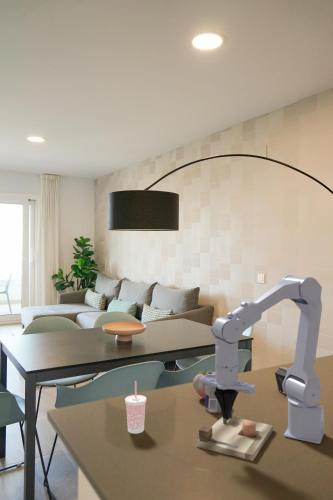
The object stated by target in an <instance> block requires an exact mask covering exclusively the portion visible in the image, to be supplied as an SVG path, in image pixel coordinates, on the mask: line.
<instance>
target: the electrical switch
mask: <svg viewBox="0 0 333 500" xmlns="http://www.w3.org/2000/svg"><path fill="white" fill-rule="evenodd" d="M288 369H289V368H287V367H284V366H278V369H277V370H276V371H275V372H274V375H275V381H276V385H277V389H278V392H280V391H281V392H284V391H283V388H282V384H283V381H284V379H285V377H286V374H287V370H288ZM281 392H280V393H281Z"/></svg>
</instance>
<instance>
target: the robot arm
mask: <svg viewBox="0 0 333 500" xmlns="http://www.w3.org/2000/svg"><path fill="white" fill-rule="evenodd" d="M322 291H323V287H322V285H321V283H319V281H318V280H317V279H316V278H315V277H312V276H311V277H310V276H308V277H306V276H297V275H296V276H295V275H291V274H290V275H286V276H284V277H283V278H281V279H279V280H278V281H277V283H276V284H275V285H274V286H272V287H271V289H269V290H267V291H266V292H265V293H264V294H262V295H261V296H260V297H258V299H256V300H255V301H254V302H252V301H243V302H241V303H240V306H239V307H236V309H234V310H233V311H231V312H230V311H229V312H228V313H226V316H224V317H223V316H221V317H218V318H216V319H215V320H214V323H213V324H212V327H211V328H210V332H211V335H212V336H213V338H214V342H215V343H214V344H215V345H214V346H215V347H214V349H215V354H214V355H215V371H216V378H209V377H202V378H200V379H199V382H200V386H208V387H214V388H216V391H215V392H214V395H215V397H216V398H217V400H218V402H219V405H220V408H221V415H222V416H223V419H229V418H230V417H231V411H232V409H233V406H234V404H235V401H236V399H237V397H238V394H239V393H244V394H249V395H250V396H254V395H256V385H255V384H250V383H247V382H244V381H240V380H239V342H240V340H241V339H242V336H243V333H244V332H246V330H248V329H249V328H251V327H252V326H253V325H255V324H256V323H258V322H259V321H260V320H261V319H262V315H263V313H264V312H265V311H267V310H269V309H271V308H272V307H274V306H276V305H277V304H279V303H280V302H282V301H284V300H287V299H288V300H290V301H292V302H294V304H295V305H296V306H297V308H298V309H299V310H300V314H299V320H298V321H299V322H298V330H297V338H296V344H295V350H294V351H295V352H294V358H293V359H294V360H293V365H291V367H289V368H287V369H288V370H287V374H286V377H285V379H284V381H283V384H282V388H283V391H284V393H285V394H284V395H286V400H287V429H286V430H285V432H284V434H283V437H285V438H290V439H293V440H294V439H295V440H300V441H304V442H308V443H313V444H317V445H320V444H321V442H322V440H323V437H324V434H325V408H324V406H323V405H319V402H320V401H321V399H322V398H321V397H322V389H321V378H320V377H319V375H318V374H317V372H316V371H315V364H316V355H317V350H318V341H319V334H320V333H319V332H320V326H321V320H322V312H323V311H322V309H323V303H322V298H321V297H322Z"/></svg>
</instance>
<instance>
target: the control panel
mask: <svg viewBox="0 0 333 500" xmlns="http://www.w3.org/2000/svg"><path fill="white" fill-rule="evenodd" d="M244 421H250V420H249V419H243V418H239V417H234V416H233V415H232V416H231V417H230V418H229V419H228V420H227V419H223V415H222V416H221V417H220V418H219V419H218V420H217V421H216V422H215V423H214V424H213V425H212V426H211V427H212V438H211V439H210V440H209V441H204V440H200V439H199V438H198V439H197V440H196V447H197V448H201V449H205V450H209V451H213V452H217V453H220V454H224V455H227V456H232V457H236V458H240V459H243V460H247V461H251V462H253V461H254V460H255V458H257V456H258V454H259V453H260V451H261V450H262V448H263V446H264V445H265V443H266V442H267V441H268V440H269V438H270V436H271V435H272V433H273V432H274V425H272V424H267V423H262V422H259V421H253V420H251V421H252V422H254V423H256V436H255V438H254V437H252V438H249V437H245V436H243V435H242V422H244Z"/></svg>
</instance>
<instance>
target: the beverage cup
mask: <svg viewBox="0 0 333 500" xmlns="http://www.w3.org/2000/svg"><path fill="white" fill-rule="evenodd" d="M137 390H138V389H137V380H135V381H134V394H131V395H128V396H126V397H125V398H124V402H125V406H126V407H125V408H126V422H127V432H128V433H129V434H140V433H143V432H144V431H145V420H146V419H145V417H146V403H147V397H146V396H145V395H141V394H137Z"/></svg>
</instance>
